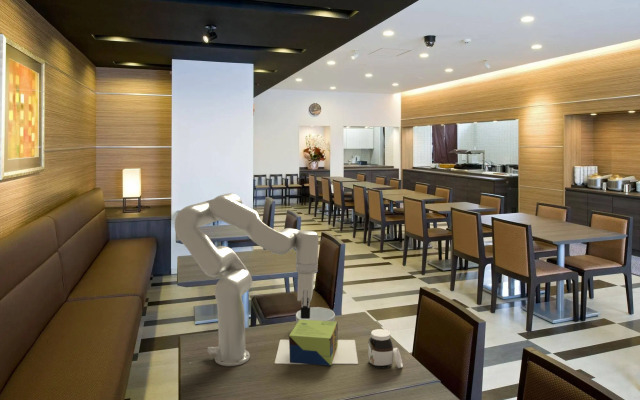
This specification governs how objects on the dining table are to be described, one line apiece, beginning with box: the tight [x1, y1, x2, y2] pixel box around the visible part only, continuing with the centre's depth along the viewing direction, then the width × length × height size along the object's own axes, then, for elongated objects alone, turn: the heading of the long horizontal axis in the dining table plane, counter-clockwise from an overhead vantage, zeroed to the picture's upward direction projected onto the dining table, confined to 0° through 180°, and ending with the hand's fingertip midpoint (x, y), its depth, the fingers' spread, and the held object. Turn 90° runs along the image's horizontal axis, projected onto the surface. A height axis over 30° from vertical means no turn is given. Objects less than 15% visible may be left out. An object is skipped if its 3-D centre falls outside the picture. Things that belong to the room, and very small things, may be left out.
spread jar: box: [367, 328, 404, 369], centre depth 164 cm, size 12×11×12 cm
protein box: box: [288, 320, 339, 367], centre depth 171 cm, size 10×15×16 cm
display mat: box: [274, 339, 359, 365], centre depth 175 cm, size 30×20×1 cm, turn 89°
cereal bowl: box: [295, 306, 336, 324], centre depth 195 cm, size 17×17×7 cm
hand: (305, 317), depth 161 cm, fingers closed
